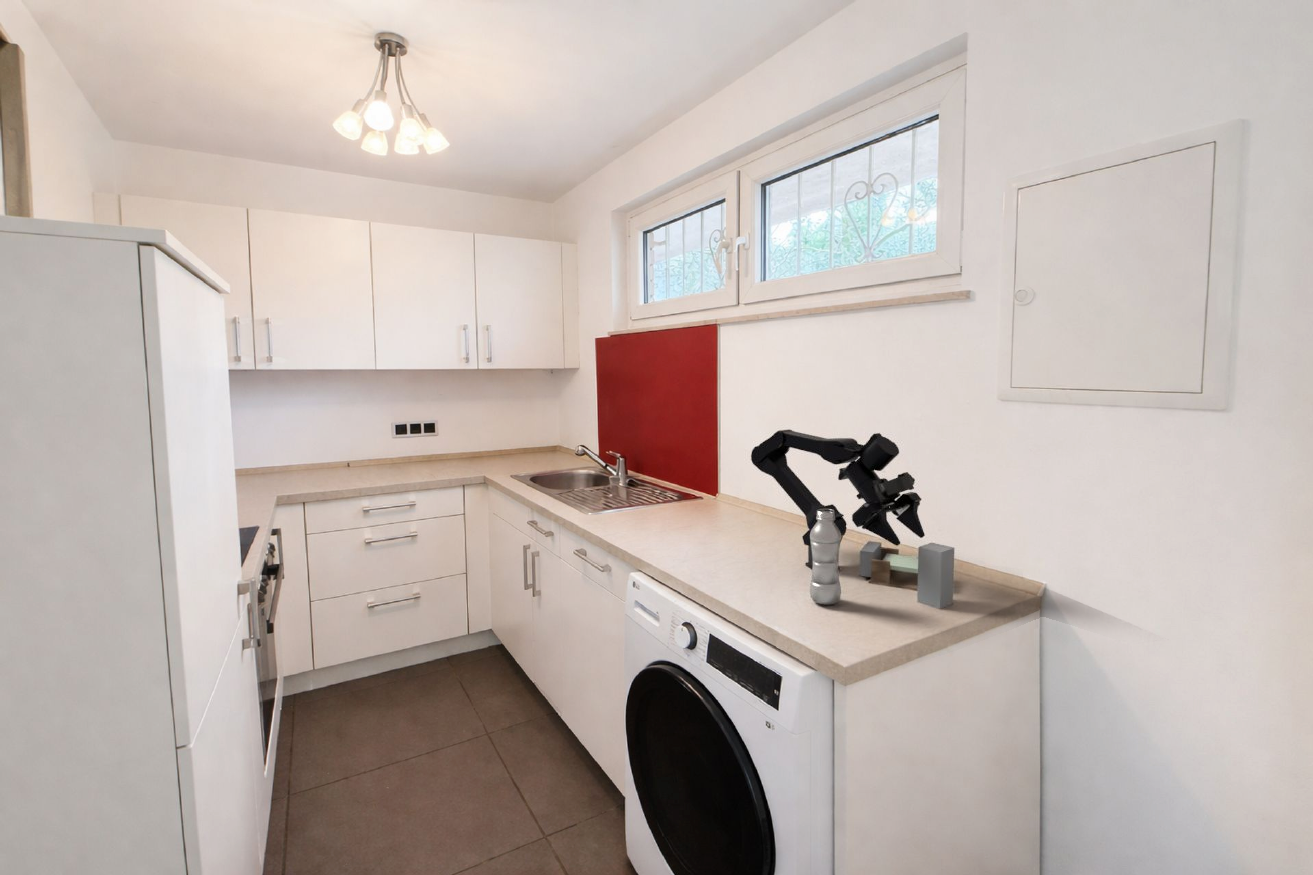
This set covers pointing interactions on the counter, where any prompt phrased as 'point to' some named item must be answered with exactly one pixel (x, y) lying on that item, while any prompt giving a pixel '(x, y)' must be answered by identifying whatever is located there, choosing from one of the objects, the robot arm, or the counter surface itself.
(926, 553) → the grey rectangular block
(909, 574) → the frame
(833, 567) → the plastic bottle
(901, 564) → the trapdoor
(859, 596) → the counter surface
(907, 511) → the robot arm
